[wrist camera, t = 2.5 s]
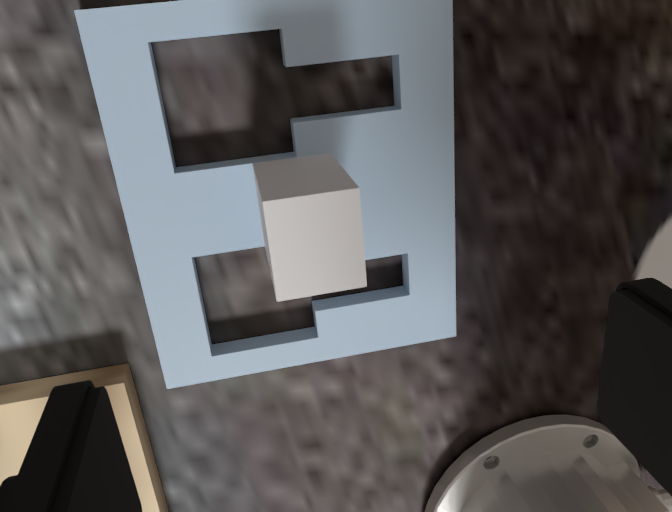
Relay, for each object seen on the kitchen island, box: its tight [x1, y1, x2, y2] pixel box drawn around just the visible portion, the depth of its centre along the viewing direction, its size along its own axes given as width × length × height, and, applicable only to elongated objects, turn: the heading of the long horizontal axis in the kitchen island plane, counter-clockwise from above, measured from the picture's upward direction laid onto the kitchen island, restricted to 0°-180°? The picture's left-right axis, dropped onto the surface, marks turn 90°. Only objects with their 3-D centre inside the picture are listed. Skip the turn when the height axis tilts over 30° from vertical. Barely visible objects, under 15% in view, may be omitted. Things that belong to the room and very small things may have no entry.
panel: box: [74, 0, 456, 389], centre depth 21 cm, size 13×15×6 cm
